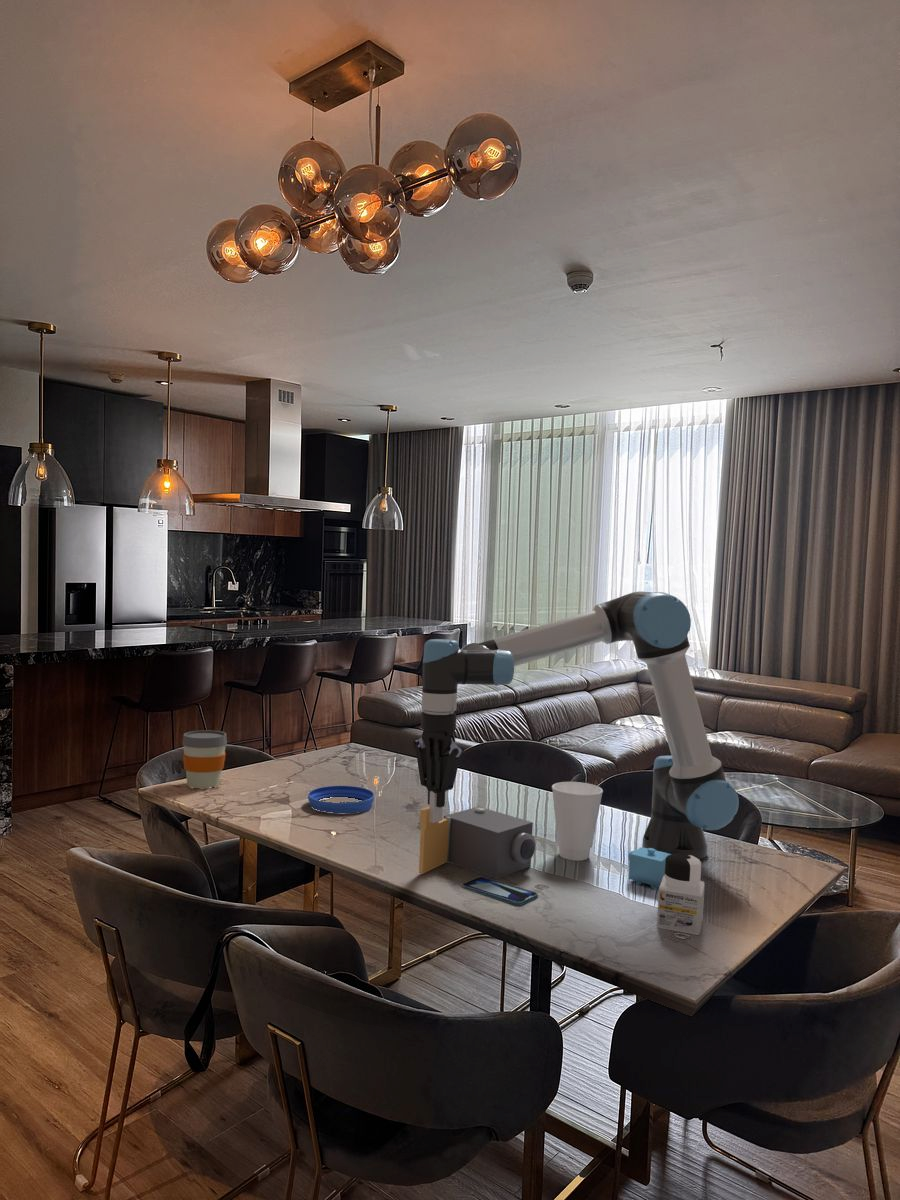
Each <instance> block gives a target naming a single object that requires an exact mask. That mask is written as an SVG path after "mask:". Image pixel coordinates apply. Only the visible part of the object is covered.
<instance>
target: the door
mask: <svg viewBox="0 0 900 1200" xmlns="http://www.w3.org/2000/svg"><path fill="white" fill-rule="evenodd" d="M429 807H430V805H427V806H426V807H424V808H421V809H420V810H419V811H420V812H419V829H420V839H419V860H418V863H419V865H418V873H419V874H422V875H423V874H425V873H427V872H430V871H432V870H433V869H435V868H437V867H440V866H441V865H444V864H445V863H446V864H448V863H450V862H449V843H450V821H451V817H445V819H444V818H442V821H439V822H435V823H432V822H429V815H430V810H429Z"/></svg>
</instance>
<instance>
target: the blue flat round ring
mask: <svg viewBox="0 0 900 1200" xmlns="http://www.w3.org/2000/svg"><path fill="white" fill-rule="evenodd" d="M330 797H348V798H355V799H358V800H362V801H359V802H346V803H345V802H343V803H342V802H340V803H332V802H323V800H321V801H319V800H320V799H323V798H330ZM307 799H308V802H309V807H310V806H311V807H313V808H314V809H317V810H320V811H326V812H333V813H355V814H358V813H357V812H361V813H364V812H367V811H369V810H370V809H371V808H372V807H373V804H374V803H373V802H374V800H375V793H374V792H373V791H372V790H370V789H368V788H364V787H360V786H353V785H329V786H321V787H318V788H315V789H312V790H310V791H309V792H308V795H307ZM311 807H310V808H311ZM363 811H364V812H363Z"/></svg>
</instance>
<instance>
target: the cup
mask: <svg viewBox="0 0 900 1200" xmlns="http://www.w3.org/2000/svg"><path fill="white" fill-rule="evenodd" d="M551 790H552V799H553V808H554V822H555V832H556V843H557V845H558V854H559V856H560V858H563V859H564V860H569V861H577V862H579V861H585V860H588V859H589V858H590V854H591V849H592V847H593V843H594V838H595V833H596V830H597V829H596V826H597V822H598V817H599V813H600V807H601V801H602V797H603V793H604V790H603V788H601V787H600V786H598V785H597V784H592V783H589V782H588V783H587V782H581V781H580V782H578V781H561V782H556V783H554V784H552V785H551Z"/></svg>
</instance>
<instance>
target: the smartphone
mask: <svg viewBox="0 0 900 1200" xmlns="http://www.w3.org/2000/svg"><path fill="white" fill-rule="evenodd" d="M461 887H462V888H463V889H467V890H470V891H472V892H476V893H478V894H480V895H484V896H486V897H490V898H493V899H496V900H499V901H501V902H504V903H507V904H510V905H513V906H518V907H519V906H523V905H525V904H527V903H529V902H531V901H534V900H535V899H537V898H538V897H539V896H538V895H539V894H538V892H535V891H532V890H529V889H527V888H526V889H525V888H522V887H520V886H515V885H513V884H509V883H505V882H503V881H499V880H497V879H494V878H490V877H489V878H488V877H485V876H477V877H475V878H473V879H470V880H467V881H465V882H463V883H461Z"/></svg>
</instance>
